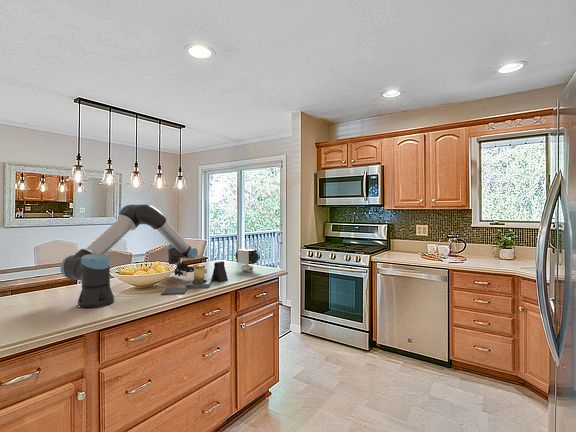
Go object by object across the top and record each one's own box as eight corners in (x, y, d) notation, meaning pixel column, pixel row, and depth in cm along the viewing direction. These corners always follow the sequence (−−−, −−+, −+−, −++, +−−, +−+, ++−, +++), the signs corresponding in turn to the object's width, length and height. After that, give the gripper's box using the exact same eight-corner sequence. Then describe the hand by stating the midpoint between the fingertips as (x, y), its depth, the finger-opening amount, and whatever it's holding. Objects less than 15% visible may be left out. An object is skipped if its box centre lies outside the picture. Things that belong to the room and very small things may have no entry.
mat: (184, 294, 169) (184, 292, 169) (161, 295, 168) (161, 293, 168) (188, 288, 181) (188, 287, 181) (166, 289, 180) (166, 288, 180)
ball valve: (260, 272, 228) (260, 247, 228) (251, 273, 222) (251, 248, 222) (243, 269, 240) (243, 245, 240) (235, 270, 234) (234, 246, 233)
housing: (209, 287, 183) (209, 284, 183) (185, 288, 182) (185, 285, 182) (211, 282, 197) (211, 278, 197) (190, 282, 196) (190, 279, 195)
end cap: (204, 286, 187) (204, 266, 186) (192, 286, 186) (192, 266, 185) (205, 283, 193) (205, 264, 193) (194, 284, 192) (194, 264, 192)
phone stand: (228, 280, 202) (227, 261, 202) (221, 282, 197) (220, 263, 197) (218, 278, 207) (217, 260, 207) (211, 280, 202) (210, 261, 202)
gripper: (198, 271, 217) (214, 275, 202) (162, 276, 200) (176, 282, 184) (198, 260, 217) (214, 264, 202) (161, 265, 199) (176, 269, 184)
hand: (196, 272), depth 193 cm, fingers open, 13 cm apart
